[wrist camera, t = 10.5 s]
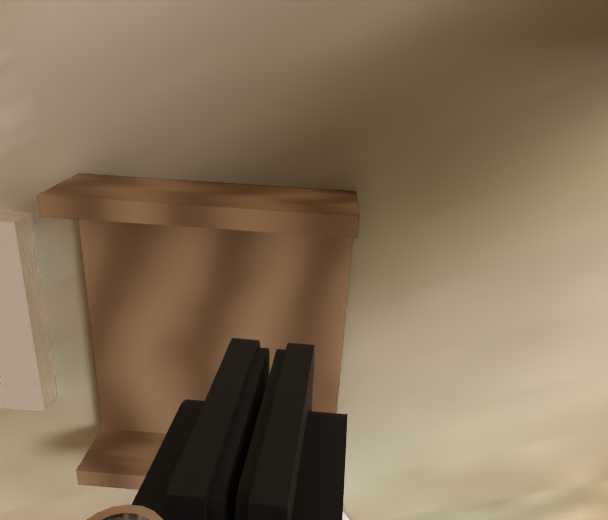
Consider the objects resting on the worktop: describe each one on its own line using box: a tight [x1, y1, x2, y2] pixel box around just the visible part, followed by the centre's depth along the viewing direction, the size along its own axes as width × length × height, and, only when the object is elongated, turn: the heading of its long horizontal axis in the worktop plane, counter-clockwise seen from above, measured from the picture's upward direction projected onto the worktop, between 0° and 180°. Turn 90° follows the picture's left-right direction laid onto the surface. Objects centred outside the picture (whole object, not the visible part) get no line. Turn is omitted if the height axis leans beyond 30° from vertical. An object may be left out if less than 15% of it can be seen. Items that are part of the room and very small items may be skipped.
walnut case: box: [38, 173, 359, 490], centre depth 34 cm, size 17×20×5 cm
